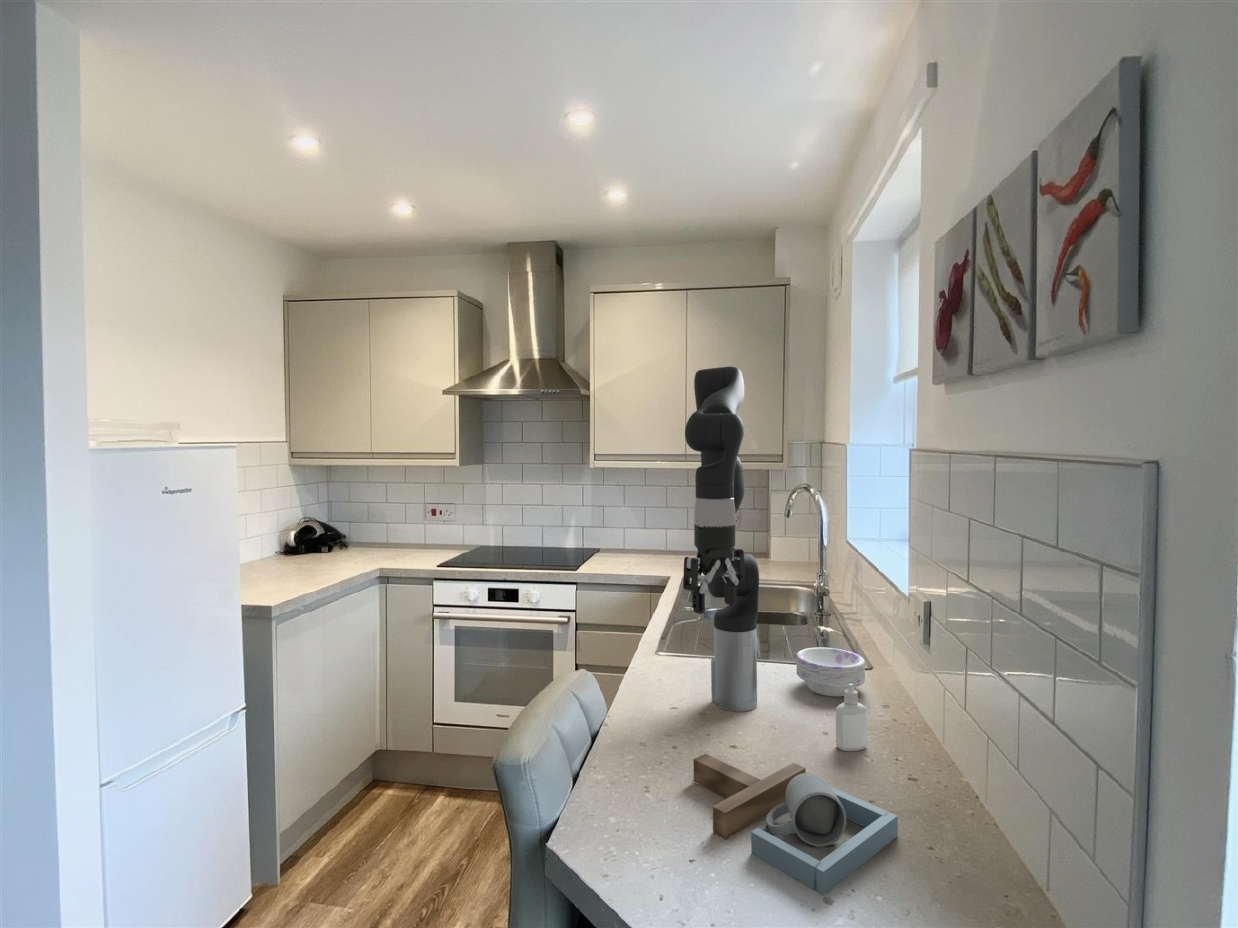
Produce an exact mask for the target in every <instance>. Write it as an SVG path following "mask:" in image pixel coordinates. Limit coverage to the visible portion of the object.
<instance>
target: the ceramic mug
mask: <svg viewBox="0 0 1238 928" xmlns="http://www.w3.org/2000/svg"><path fill="white" fill-rule="evenodd" d="M831 787H832V786H830V784H829V783H828V782H827V780H825V778H823V777H821V776H820V775H817V774H815V773H811V772H806V773H802V774H799V775H797V776H795V777H794V778H793V779H792V780H791V781H790V782H789V784H788V786H787V788H786V795H785V799H786V801H785V802H784V803H782V804H780V805H778V806H776V807H775V808H773V809H772V810H771V811H770V812H769V813H768V815H766V820H765V822H766V825H767V828H768V829H769V831H770V833H771V835H772V834H773V836H778V837H783V836H788V835H792V834H794V833H795V834H796V835H797V837H798V838H799V839H800V840H801V841H802V842H804V843H806V844H807V845H810V846H812V847H816V848H817V847H821V848H822V847H829V846H831V845H834V844H835V843H836V842H838V840H839V839H841V837H842V836H843V835H844V833H845V831H846V830H845V829H846V827H847V819H846V813H845V810H844V807H843V805H842V804H841V802H840V801H839V799H838V798H837V796H836V794H835V793H834V792H833V790H832V788H831ZM785 814H788V815H789V817H790V821H789V822H786V823H782V824H775V821H776V820H777V819H779V818H780V817H782V816H783V815H785Z"/></svg>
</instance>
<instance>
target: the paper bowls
mask: <svg viewBox="0 0 1238 928" xmlns="http://www.w3.org/2000/svg"><path fill="white" fill-rule="evenodd" d="M865 663H866V661H865V659H864V657H862V655H860V654H857V653H855V652H852V651H848V650H845V649H841V648H836V647H835V648H834V647H833V648H832V647H824V646H823V647H822V646H821V647H818V646H817V647H808V648H803V649H801V650H799V651H798V652H797V654H796V665H795V666H796V675H797V677H798V678H800V679H801V680H803V681H804V683H805V684H806V686H807V688H808V689H809V690H810V691H812V692H814V693H816V694H819V695H823V696H828V697H844V691H845V690H846V689H848V686H849V684H853V687H854V690H856V688H857V687H860V686H862V685H864V684H865V682H866V671H865V670H866V664H865Z"/></svg>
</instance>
